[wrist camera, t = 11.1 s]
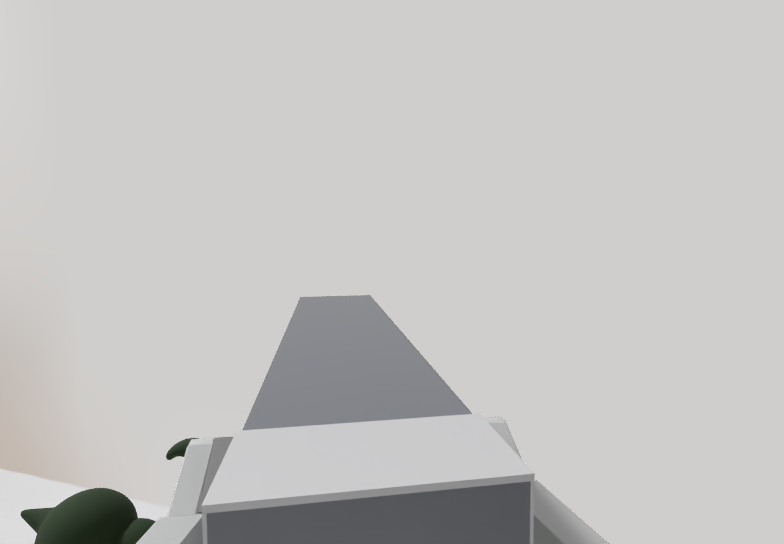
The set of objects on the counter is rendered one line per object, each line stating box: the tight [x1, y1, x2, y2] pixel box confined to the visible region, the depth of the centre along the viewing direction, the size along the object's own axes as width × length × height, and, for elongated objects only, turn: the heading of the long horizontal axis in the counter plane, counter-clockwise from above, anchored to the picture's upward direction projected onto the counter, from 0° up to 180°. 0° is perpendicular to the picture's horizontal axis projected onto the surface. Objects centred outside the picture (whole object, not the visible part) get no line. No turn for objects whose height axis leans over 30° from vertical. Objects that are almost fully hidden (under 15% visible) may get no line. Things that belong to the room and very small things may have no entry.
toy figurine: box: [21, 438, 199, 544], centre depth 48 cm, size 9×19×25 cm
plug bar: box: [201, 295, 534, 544], centre depth 15 cm, size 20×4×4 cm, turn 9°
